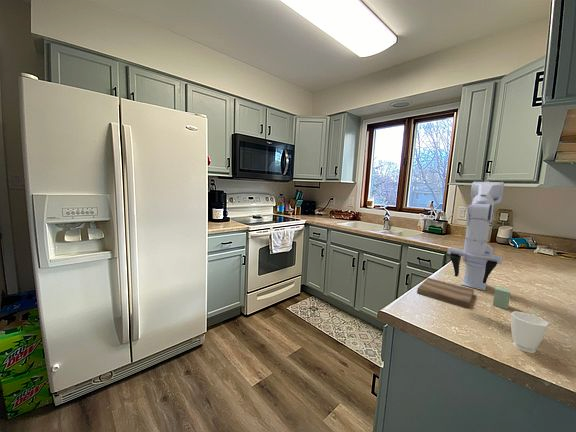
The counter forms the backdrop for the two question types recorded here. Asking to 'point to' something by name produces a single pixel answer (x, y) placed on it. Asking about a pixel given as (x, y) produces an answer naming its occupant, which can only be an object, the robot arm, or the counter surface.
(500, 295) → the block
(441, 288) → the base board
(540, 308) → the counter surface
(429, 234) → the counter surface
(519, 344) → the cup
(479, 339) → the counter surface
